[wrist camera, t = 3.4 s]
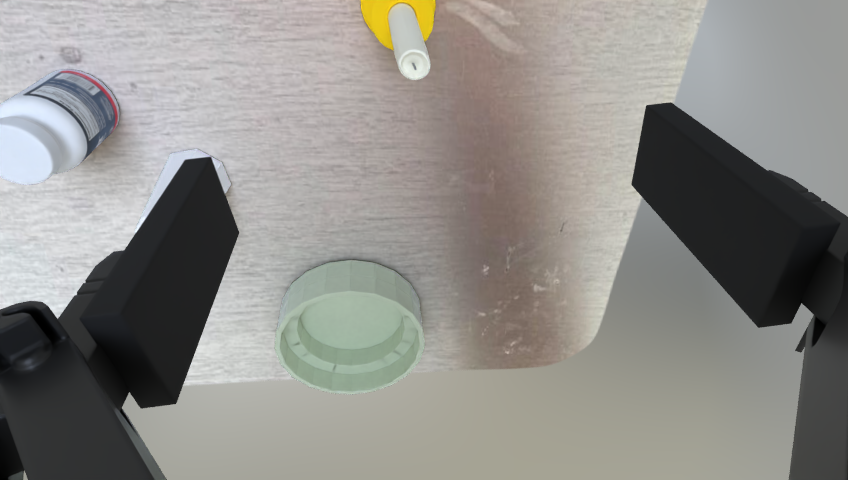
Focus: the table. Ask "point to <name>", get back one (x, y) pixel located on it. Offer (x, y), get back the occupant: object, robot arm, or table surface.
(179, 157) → the pepper shaker
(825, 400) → the robot arm
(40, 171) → the pill bottle
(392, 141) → the table surface
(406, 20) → the candle
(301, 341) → the bowl
